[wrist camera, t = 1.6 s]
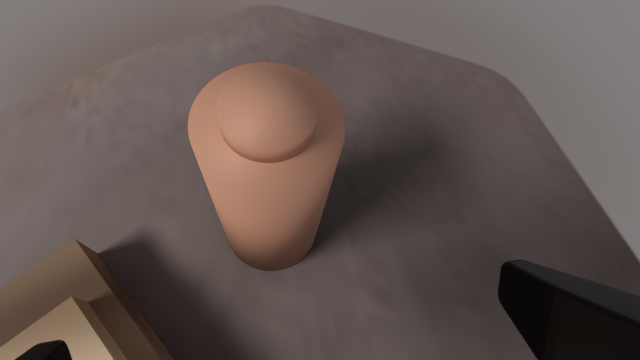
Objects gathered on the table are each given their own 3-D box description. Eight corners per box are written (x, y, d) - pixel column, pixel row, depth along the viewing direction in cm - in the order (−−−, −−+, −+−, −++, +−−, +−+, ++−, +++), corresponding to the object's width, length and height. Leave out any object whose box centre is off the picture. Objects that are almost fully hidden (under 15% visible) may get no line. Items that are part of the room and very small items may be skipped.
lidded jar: (334, 229, 22) (383, 116, 12) (266, 290, 20) (256, 215, 10) (277, 170, 23) (277, 23, 13) (208, 222, 21) (147, 96, 11)
